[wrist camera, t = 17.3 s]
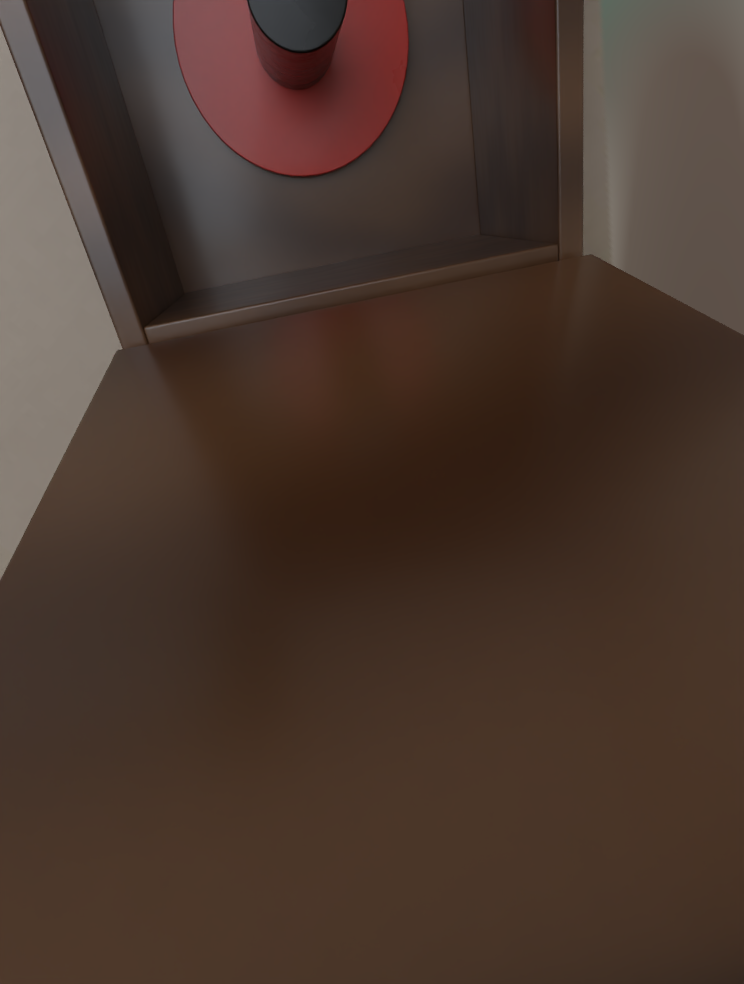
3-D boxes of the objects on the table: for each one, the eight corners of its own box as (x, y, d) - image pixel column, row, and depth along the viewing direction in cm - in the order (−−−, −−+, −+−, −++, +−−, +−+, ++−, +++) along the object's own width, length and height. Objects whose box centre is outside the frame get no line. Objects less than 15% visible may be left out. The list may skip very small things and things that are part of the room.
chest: (-3, -236, 17) (-240, -603, 10) (456, -308, 18) (587, -706, 10) (175, 312, 25) (125, 358, 17) (492, 249, 26) (584, 265, 18)
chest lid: (-591, 1734, 3) (-430, 1657, 3) (1965, 980, 3) (1784, 1009, 4) (116, 349, 17) (126, 374, 17) (591, 253, 17) (589, 279, 18)
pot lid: (299, -181, 18) (305, -348, 13) (449, 69, 22) (503, 22, 16) (123, 22, 20) (62, -49, 14) (290, 224, 23) (291, 228, 18)
